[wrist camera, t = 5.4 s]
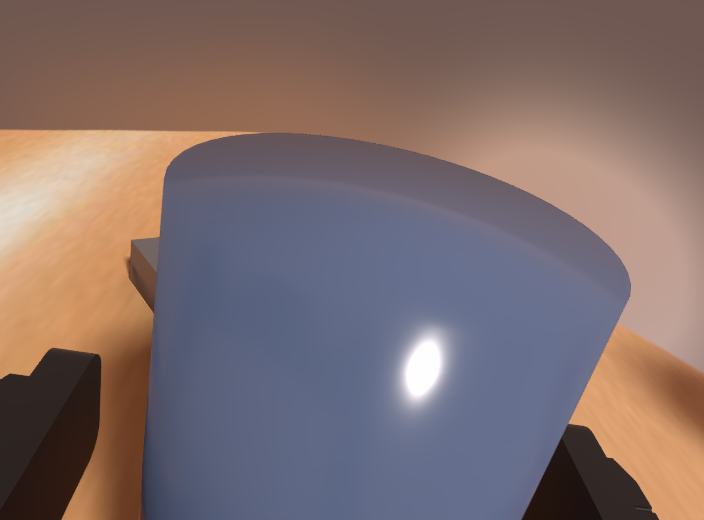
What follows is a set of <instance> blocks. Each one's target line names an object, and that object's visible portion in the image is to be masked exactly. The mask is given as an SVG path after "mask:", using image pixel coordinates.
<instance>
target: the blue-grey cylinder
mask: <svg viewBox="0 0 704 520" xmlns="http://www.w3.org/2000/svg"><path fill="white" fill-rule="evenodd" d="M630 290H631V283H630V279H629V275H628V272H627V270H626V268H625V266H624V265H623V263H622V261H621V260H620V258H619V257H618V256H617V255H616V254H615V252H614V251H613V250H612V249H611V248H610V247H609V246H608V245H607V244H606V243H605V242H604V241H603V240H602V239H601V238H600V237H599V236H598V235H596V234H595V233H594V232H592V231H591V230H590V229H589V228H587V227H586V226H585V225H583V224H582V223H580V222H579V221H577V220H576V219H574V218H573V217H571V216H570V215H568V214H567V213H565V212H563V211H562V210H560V209H558V208H557V207H555V206H553V205H551V204H550V203H548V202H546V201H544V200H542V199H540V198H538V197H536V196H534V195H532V194H530V193H528V192H526V191H524V190H521V189H519V188H517V187H515V186H513V185H510V184H508V183H506V182H503V181H501V180H498V179H496V178H493V177H491V176H488V175H485V174H483V173H480V172H477V171H475V170H472V169H469V168H466V167H463V166H460V165H457V164H454V163H451V162H447V161H444V160H440V159H438V158H434V157H431V156H427V155H423V154H419V153H416V152H412V151H408V150H404V149H399V148H395V147H390V146H385V145H381V144H375V143H370V142H365V141H358V140H352V139H346V138H338V137H329V136H321V135H310V134H292V133H291V134H290V133H259V134H244V135H236V136H228V137H223V138H218V139H214V140H210V141H207V142H204V143H201V144H197V145H195V146H193V147H191V148H189V149H187V150H185V151H183V152H182V153H181V154H179V155H178V156H177V157H176V158H174V159H173V161H172V162H171V163H170V165H169V166H168V167H167V170H166V174H165V177H164V185H163V199H162V212H161V226H160V239H159V252H158V266H157V279H156V293H155V306H154V319H153V333H152V346H151V360H150V373H149V387H148V400H147V413H146V427H145V440H144V454H143V467H142V480H141V494H140V507H139V520H522V518H523V515H524V513H525V511H526V509H527V507H528V505H529V503H530V501H531V499H532V497H533V495H534V493H535V491H536V489H537V487H538V485H539V483H540V480H541V478H542V476H543V474H544V472H545V470H546V468H547V466H548V464H549V462H550V460H551V458H552V456H553V454H554V452H555V450H556V448H557V445H558V443H559V441H560V439H561V437H562V435H563V433H564V431H565V429H566V427H567V425H568V423H569V421H570V419H571V417H572V415H573V413H574V410H575V408H576V406H577V404H578V402H579V400H580V398H581V396H582V394H583V392H584V390H585V388H586V386H587V384H588V382H589V380H590V378H591V375H592V373H593V371H594V369H595V367H596V365H597V363H598V361H599V359H600V357H601V355H602V353H603V351H604V349H605V347H606V345H607V343H608V340H609V338H610V336H611V334H612V332H613V330H614V328H615V326H616V324H617V322H618V320H619V318H620V316H621V314H622V312H623V310H624V308H625V305H626V303H627V301H628V299H629V297H630Z"/></svg>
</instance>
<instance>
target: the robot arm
mask: <svg viewBox="0 0 704 520" xmlns="http://www.w3.org/2000/svg"><path fill="white" fill-rule="evenodd" d="M100 388H101V358H100V356H99V355H98V354H93V353H86V352H79V351H72V350H65V349H58V348H51V349H50V350H49V351H48V352H47V353H46V354H45V355H44V357H43V358H42V360H41V361H40V362H39V364H38V365H37V366H36V368H35V369H34V371H33V372H32V373H31V375H30V376H24V375H17V374H8V375H7V376H5V377H4V378H2V379H0V520H61V519H62V517H63V515H64V513H65V511H66V508H67V506H68V504H69V502H70V500H71V498H72V496H73V494H74V492H75V490H76V488H77V486H78V484H79V482H80V479H81V477H82V475H83V473H84V471H85V469H86V467H87V465H88V463H89V461H90V459H91V456H92V453H93V450H94V447H95V444H96V440H97V436H98V430H99V421H100ZM522 520H659V518H658V517H657V515H656V514H655V513H652V507H651V505H650V504H649V502H648V500H647V499H646V497H645V495H644V494H643V492H642V490H641V489H640V487H639V485H638V484H637V482H636V481H635V480H634V479H633V478H632V477H631V476H630V475H629V474H628V473H627V472H626V471H625V470H624V469H623V468H622V467H621V466H620V465H619V464H618V463H617V462H616V461H615V460H614V459H613V458H607V457H606V455H605V453H604V452H603V450H602V448H601V446H600V445H599V443H598V441H597V440H596V438H595V436H594V434H593V433H592V431H591V430H590V429H589V428H587V427H585V426H580V425H573V424H568V425H567V427H566V429H565V431H564V433H563V435H562V437H561V439H560V441H559V443H558V445H557V448H556V450H555V452H554V454H553V456H552V458H551V460H550V462H549V464H548V466H547V468H546V470H545V472H544V474H543V476H542V478H541V480H540V483H539V485H538V487H537V489H536V491H535V493H534V495H533V497H532V499H531V501H530V503H529V505H528V507H527V509H526V511H525V513H524V515H523V518H522Z"/></svg>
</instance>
